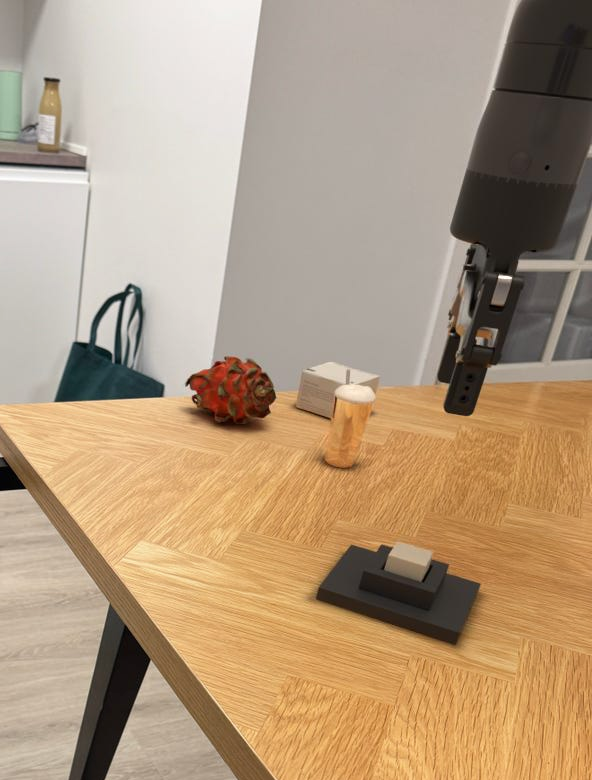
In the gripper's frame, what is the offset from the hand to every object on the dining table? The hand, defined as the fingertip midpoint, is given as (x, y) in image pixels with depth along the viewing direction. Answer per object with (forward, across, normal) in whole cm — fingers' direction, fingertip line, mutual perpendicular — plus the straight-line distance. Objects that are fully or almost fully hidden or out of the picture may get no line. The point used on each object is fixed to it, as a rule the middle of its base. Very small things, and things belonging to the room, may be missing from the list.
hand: (452, 397), depth 71 cm
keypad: (+17, -3, 0) cm, 17 cm away
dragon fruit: (+17, +36, +21) cm, 45 cm away
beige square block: (+15, -3, 0) cm, 15 cm away
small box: (+17, +47, +8) cm, 51 cm away
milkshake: (+17, +28, +6) cm, 34 cm away
